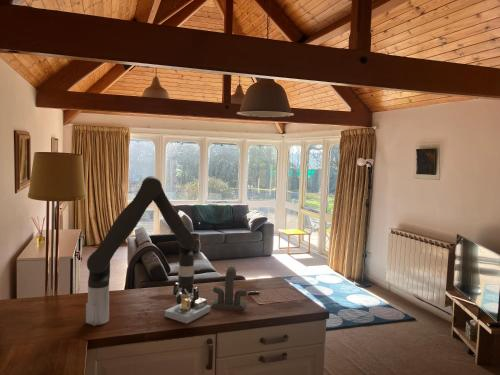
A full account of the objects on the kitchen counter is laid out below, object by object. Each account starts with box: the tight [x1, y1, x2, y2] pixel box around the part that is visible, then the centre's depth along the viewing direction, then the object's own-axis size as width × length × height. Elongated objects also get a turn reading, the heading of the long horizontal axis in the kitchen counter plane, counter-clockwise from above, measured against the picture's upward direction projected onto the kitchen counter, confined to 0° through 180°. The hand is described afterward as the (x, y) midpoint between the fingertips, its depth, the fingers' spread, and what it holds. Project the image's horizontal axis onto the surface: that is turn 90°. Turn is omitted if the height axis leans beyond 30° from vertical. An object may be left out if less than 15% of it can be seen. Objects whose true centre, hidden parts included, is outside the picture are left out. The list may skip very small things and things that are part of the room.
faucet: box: [210, 265, 248, 311], centre depth 211 cm, size 18×16×20 cm
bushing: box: [181, 297, 190, 312], centre depth 194 cm, size 4×4×8 cm
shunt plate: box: [188, 297, 208, 308], centre depth 201 cm, size 7×9×2 cm
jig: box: [164, 302, 211, 324], centre depth 196 cm, size 18×14×3 cm
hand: (185, 305), depth 194 cm, fingers open, 8 cm apart
